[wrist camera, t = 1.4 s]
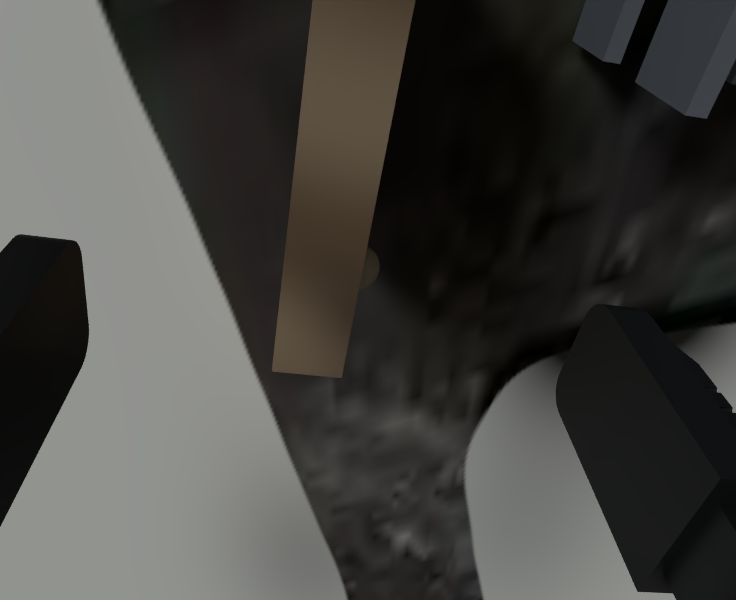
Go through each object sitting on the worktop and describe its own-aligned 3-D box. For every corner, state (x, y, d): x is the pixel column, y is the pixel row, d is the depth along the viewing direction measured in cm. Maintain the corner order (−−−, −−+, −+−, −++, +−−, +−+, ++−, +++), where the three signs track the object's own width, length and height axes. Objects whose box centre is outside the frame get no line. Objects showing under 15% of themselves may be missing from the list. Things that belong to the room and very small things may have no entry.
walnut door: (328, -133, 20) (327, -143, 11) (427, -112, 20) (507, -105, 11) (291, 202, 26) (271, 371, 17) (366, 212, 27) (385, 382, 18)
